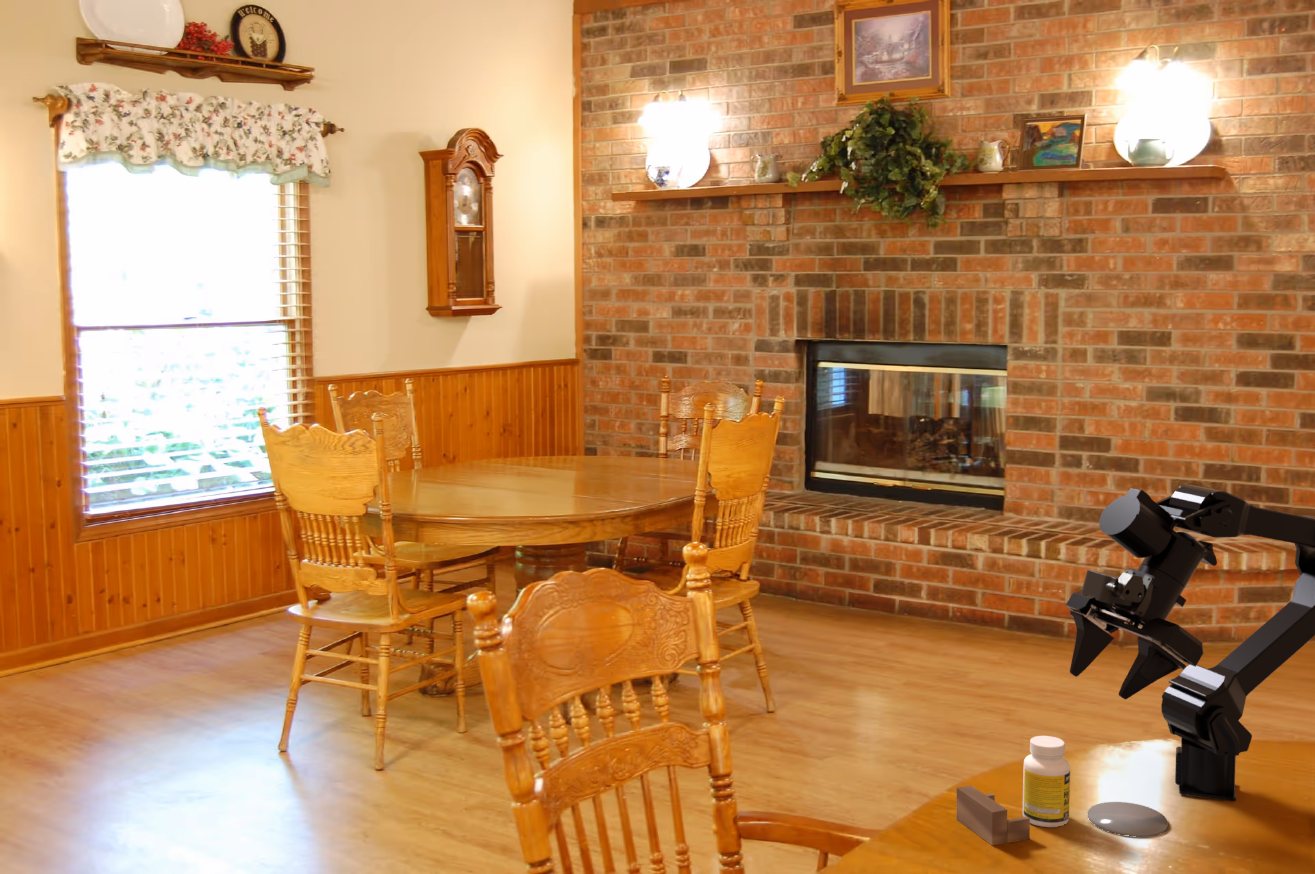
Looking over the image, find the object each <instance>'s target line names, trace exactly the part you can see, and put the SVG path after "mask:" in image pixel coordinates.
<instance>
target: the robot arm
mask: <svg viewBox="0 0 1315 874" xmlns="http://www.w3.org/2000/svg"><path fill="white" fill-rule="evenodd" d="M1098 525H1099V530H1100V531H1101V532H1102V533H1103V534H1105V535H1106V536H1107V537H1108V538H1109V539H1111V540H1113V541H1114V542H1115V543H1116V544H1118V546H1120V547H1121V548H1122V549H1124V550H1125V551H1127V552H1128V553H1129V554H1130V555H1132V556H1133V557H1135V558H1138V559H1142V560H1141V563H1140V564H1139V566H1138V568H1137V569H1133V568H1128V569H1125V571H1124V572H1122V573H1121V575H1120V576H1117V575H1114V574H1109V573H1105V572H1101V571H1098V570H1097V571H1096V570H1093V569H1092V570H1091V569H1087V570H1086V574H1085V578H1084V581H1083V585H1082V589H1081V590H1079V591H1074V592H1073V593H1072V594H1071V596H1070V597H1069V599H1068V600H1067V602H1066V603H1065V607H1067V608H1068V609H1069V610H1070V611H1069V616H1070V617H1072V618H1073V620H1074V624H1075V627H1076V634H1075V641H1074V648H1073V652H1072V657H1071V658H1072V659H1071V663H1070V668H1069V673H1070V674H1071V675H1072V676H1073V677H1076V678H1077V677H1079V676H1080V675H1081V674H1082V673H1083V672H1084V671H1085V670H1086V669H1087V668H1089V666H1090V665H1091V664H1092V663H1093V662H1094V661H1095V660H1096V658H1097V657H1099V655H1100V654H1101V653H1102V652H1103V651H1104V650H1105V649H1106V648H1107V647H1108V646H1109V644H1111V643H1112V642H1113V641H1114V639H1115V637H1114V636H1112V635H1111V634H1113V633H1115V632H1116V631H1119V629H1120V630H1123V631H1126V632H1129V633H1131V634H1134V635H1136V636H1137V655H1136V657H1135V659H1134V661H1133V663H1132V665H1131V667H1130V669H1129V670H1128V673H1127V675H1126V676H1125V678H1124V680H1123V682H1122V684H1121V686H1120V689H1119V691H1118V696H1119V698H1122V699H1123V700H1127V699H1129V698H1131V697H1132V696H1134V695H1136V694H1137V693H1138V692H1141V691H1142V690H1144V689H1145V688H1147V687H1148V686H1150V685H1151V684H1153V683H1155V682H1157V681H1158V680H1160V679H1162V678H1164V677H1166V676H1168V675H1170V674H1171V673H1173V672H1175V671H1177V670H1179V669H1182V671H1181V673H1179V675H1177V676H1175V677H1174V678H1171V679H1169V680H1168V683H1169V684H1170V685H1169V686H1167V687H1166V689H1165V690H1164V691H1163V693H1162V695H1161V698H1162V700H1161V714H1162V716H1163V719H1164V720H1165V722H1166V724H1167V727H1168V729H1169V730H1168V731H1169V732H1170V734H1171V735H1175V736H1177V737H1179V738H1181V739H1180V740H1181V741H1180V742H1181V743H1180V746H1176V747H1175V769H1174V770H1175V776H1174V778H1175V779H1174V781H1175V782H1174V783H1175V784H1176V785H1178V794H1179V795H1182V796H1191V797H1198V798H1204V799H1205V798H1207V799H1214V800H1221V801H1230V802H1235V801H1236V800H1237V795H1236V794H1237V793H1236V785H1235V784H1236V781H1235V780H1236V758H1237V756H1239V755H1240V753H1244V752H1248V750H1249V749H1250V744H1251V741H1252V738H1253V734H1252V733H1251V732H1250V731H1249V730H1248V729H1247V727H1245V725H1243V724H1242V723H1241V722H1240V720H1241V718H1242V717H1243V715H1244V710H1245V704H1246V700H1247V696H1248V695H1249V694H1250V693H1252V692H1253V691H1254V690H1255V689H1257V687H1259V685H1261V684H1262V683H1263V682H1264V681H1265V680H1266V679H1267V678H1268V677H1270V676H1271V675H1272V674H1273V673H1275V671H1277V669H1279V668H1280V667H1281V666H1282V665H1283V664H1285V663H1286V662H1287V661H1288V660H1289V659H1290V658H1292V657H1293V655H1295V654H1296V653H1297V652H1298V651H1299V650H1301V649H1302V648H1303V647H1305V645H1306V644H1307V643H1308V642H1310V641H1311V640H1312V639H1313V638H1314V637H1315V515H1314V516H1313V515H1307V514H1305V515H1300V514H1299V515H1298V514H1293V513H1288V512H1284V511H1278V510H1273V509H1269V508H1263V507H1258V506H1256V505H1255V506H1254V505H1252V504H1250V503H1249V502H1247V501H1246V500H1245V499H1243V498H1240V497H1239V496H1236V495H1234V494H1232V493H1229V492H1227V491H1225V490H1220V489H1214V488H1209V487H1204V486H1199V485H1195V484H1181V485H1180V486H1178V489H1176V490H1175V491H1174V493H1172V495H1169V496H1167V497H1164V498H1163V499H1161V500H1158V501H1154V500H1153V499H1152V497H1151V496H1150V495H1149V494H1148V493H1147V492H1146V491H1145V490H1143V489H1139V488H1135V487H1130V488H1129V490H1128V492H1127V493H1126V495H1122V496H1120V497H1117V498H1116V499H1114V500H1113V501H1112V502H1111V503H1109V505H1107V506H1105V508H1104V509H1103V510H1102V512H1101V514H1100V516H1099V522H1098ZM1175 528H1177V529H1179V530H1183V531H1175V530H1174V529H1175ZM1184 531H1187V532H1184ZM1188 532H1190V533H1194V534H1198V535H1203V536H1207V537H1210V538H1216V539H1217V538H1218V539H1219V538H1238V537H1241V536H1255V537H1259V538H1265V539H1269V540H1270V539H1271V540H1274V541H1275V540H1276V541H1281V542H1285V543H1291V544H1294V546H1295V548H1296V551H1295V559H1294V564H1295V566H1296V569H1297V571H1298V573H1299V575H1300V576H1299V577H1298V578H1297V580H1296V581H1295V583H1294V584H1295V585H1294V589H1293V593H1292V599H1291V600H1290V601H1288V603H1287V604H1286V605H1284V606H1283V607H1282V608H1281V609H1280V610H1278V612H1276V613H1275V614H1274V615H1273V616H1272V617H1270V619H1268V620H1267V621H1266V622H1265V623H1264V624H1262V625H1261V626H1260V627H1259V628H1258V629H1257V630H1255V631H1254V632H1253V633H1252V634H1250V635H1249V636H1248V637H1247V638H1246V639H1245V640H1244V641H1243V642H1242V643H1241V644H1239V645H1238V646H1237V647H1236V648H1235V649H1233V650H1232V652H1230V653H1229V654H1228V655H1227V656H1226V657H1225V658H1223V659H1222V660H1221V661H1220V662H1219V663H1217V664H1216V665H1215V666H1213V667H1209V668H1206V667H1204V666H1201V665H1199V662H1200V660H1201V658H1202V657H1203V655H1204V646H1203V642H1202V641H1201V640H1199V639H1198V638H1196V637H1195V636H1194V635H1193V634H1191V633H1190V632H1189V631H1187V630H1186V629H1185V628H1184V627H1182V626H1180V625H1179V624H1178V623H1174V622H1172V621H1168V620H1167V619H1168V617H1169V616H1170V614H1171V612H1172V610H1173V609H1174V607H1175V605H1176V606H1178V607H1182V608H1183V607H1184V605H1185V604H1186V603H1187V601H1188V600H1187V599H1186V598H1185V597H1183V596H1182V593H1183V591H1185V588H1186V587H1187V585H1188V584H1189V582H1190V581H1191V579H1192V576H1193V575H1194V574H1195V572H1196V571H1197V569H1198V566H1199V565H1200V564H1201V563H1202V564H1205V565H1208V566H1213V567H1214V566H1215V567H1216V566H1217V565H1218V560H1217V556H1216V554H1215V553H1214V544H1213V543H1211V542H1207V541H1205V540H1201V539H1199V540H1197V539H1196V538H1195V537H1194V536H1192V535H1191V534H1189V533H1188ZM1140 627H1141V628H1140ZM1186 664H1188V665H1186Z"/></svg>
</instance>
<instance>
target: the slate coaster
mask: <svg viewBox="0 0 1315 874" xmlns="http://www.w3.org/2000/svg"><path fill="white" fill-rule="evenodd" d="M1087 810H1088V811H1087V819H1088V818H1089V820H1090V821H1091V822H1092V823H1093V824H1095V825H1096V826H1097V827H1096V826H1095V827H1096V828H1098V827H1099V828H1098V829H1100V830H1102V829H1103V830H1102V831H1103V832H1104V831H1105V832H1107V831H1109V832H1108V833H1110V832H1111V833H1110V834H1113V833H1116V834H1115V835H1117V834H1120V835H1119V836H1123V835H1129V836H1128V837H1130V836H1136V837H1135V838H1144V837H1145V838H1146V837H1154V836H1157V835H1161V834H1163V833H1164V832H1165V831H1166V830H1167V829H1168V819H1167V817H1166V816H1165V815H1164V814H1163V813H1161V812H1159V811H1158V810H1156V809H1154V808H1151V807H1149V806H1145V805H1141V804H1138V803H1133V802H1126V801H1107V802H1106V801H1105V802H1100V803H1097V804H1095V805H1093V806H1091V807H1090V808H1089V809H1087ZM1089 820H1088V821H1089ZM1090 821H1089V822H1090ZM1091 822H1090V823H1091ZM1092 823H1091V824H1092ZM1093 824H1092V825H1093ZM1160 833H1161V834H1160Z"/></svg>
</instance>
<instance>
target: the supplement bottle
mask: <svg viewBox="0 0 1315 874" xmlns="http://www.w3.org/2000/svg"><path fill="white" fill-rule="evenodd" d="M1029 740H1030V741H1029V752H1030V754H1028V755H1027V756H1026V757H1025V758H1024V760H1023V772H1022V773H1023V774H1022V775H1023V780H1022V781H1023V783H1022V817H1026V816H1027V817H1028V818H1030V824H1032V825H1034V826H1039V827H1043V828H1059V827H1058V826H1060V827H1063V826H1065V825H1067V823H1068V822H1069V820H1070V796H1071V795H1070V794H1071V793H1070V791H1071V790H1070V789H1071V788H1070V787H1071V765H1070V763H1069V760H1068V759H1066V757H1064V756H1065V753H1066V743H1065V741H1064V740H1063V739H1061V738H1059V737H1055V736H1050V735H1035V736H1033V737H1031V738H1030V739H1029ZM1064 824H1065V825H1064Z"/></svg>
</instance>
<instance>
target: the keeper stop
mask: <svg viewBox="0 0 1315 874" xmlns="http://www.w3.org/2000/svg"><path fill="white" fill-rule="evenodd" d="M995 800H996V797H995V794H994V793H992V792H991V793H983V792H982V791H980V790H978V789H977V788H975V787H974V786H973V785H965V786H964V785H963V786H960V787H959V786H957V787H956V820H957V821H958V822H960V823H961V824H962V825H964V826H965V827H966V828H968V829H969V830H970V831H972V832H973V833H974V834H976V835H977V836H979V838H981V839H983V840H984V841H985V842H987V843H988V844H990V846H997V845H1002V844H1003V845H1004V844H1010V843H1015V842H1019V841H1026V840H1030V834H1031V833H1030V831H1031V830H1030V829H1031V825H1030V824H1031V823H1030V818H1028V817H1027V816H1026V817H1023V816H1021V817H1017V818H1011V819H1008V809H1007V808H1006V807H1004V806H1002V805H1000V803H998V802H996V801H995Z"/></svg>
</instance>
